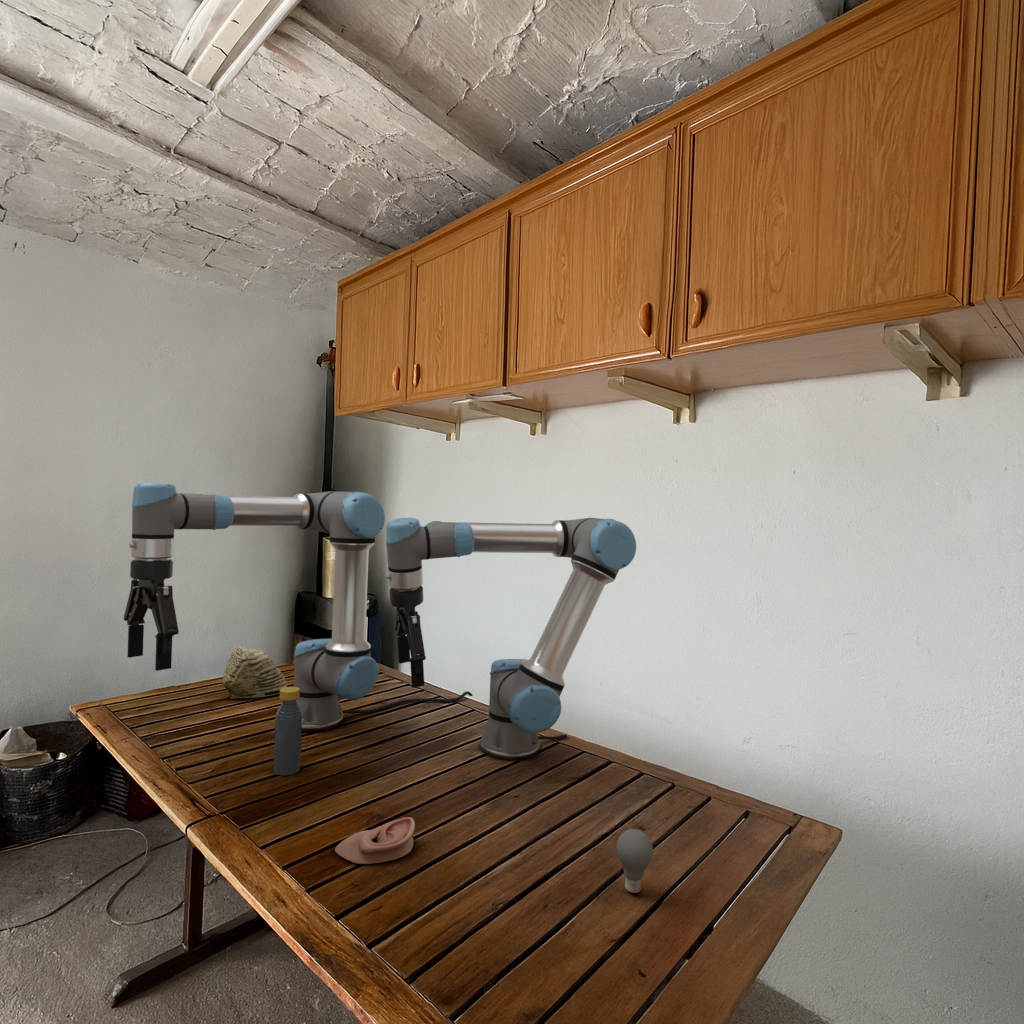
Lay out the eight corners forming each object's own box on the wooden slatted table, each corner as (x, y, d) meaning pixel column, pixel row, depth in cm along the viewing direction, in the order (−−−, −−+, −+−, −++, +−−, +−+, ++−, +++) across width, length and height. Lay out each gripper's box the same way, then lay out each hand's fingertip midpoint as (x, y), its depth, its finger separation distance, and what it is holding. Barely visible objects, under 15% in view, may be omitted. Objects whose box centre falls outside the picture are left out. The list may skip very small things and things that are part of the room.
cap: (275, 697, 145) (275, 689, 145) (291, 693, 149) (291, 685, 149) (287, 701, 143) (288, 693, 143) (303, 697, 146) (303, 689, 146)
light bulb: (610, 879, 108) (613, 822, 108) (644, 879, 109) (647, 822, 109) (619, 902, 102) (622, 840, 102) (655, 901, 103) (658, 840, 103)
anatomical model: (327, 836, 111) (356, 806, 122) (326, 858, 111) (355, 826, 122) (398, 848, 108) (421, 815, 119) (397, 871, 108) (420, 836, 119)
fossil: (218, 695, 195) (220, 647, 195) (278, 685, 208) (279, 640, 207) (228, 703, 189) (230, 653, 188) (289, 692, 201) (290, 645, 201)
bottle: (267, 770, 145) (270, 691, 145) (289, 762, 150) (292, 685, 150) (284, 777, 142) (287, 696, 142) (305, 769, 147) (308, 690, 146)
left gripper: (108, 554, 134) (104, 654, 134) (159, 565, 118) (155, 678, 119) (146, 552, 140) (143, 648, 140) (199, 563, 124) (195, 671, 124)
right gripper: (379, 573, 153) (384, 655, 158) (401, 606, 131) (407, 700, 135) (409, 570, 156) (414, 650, 160) (437, 601, 133) (441, 693, 138)
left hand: (148, 662), depth 129 cm, fingers open, 13 cm apart
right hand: (411, 673), depth 148 cm, fingers open, 13 cm apart
